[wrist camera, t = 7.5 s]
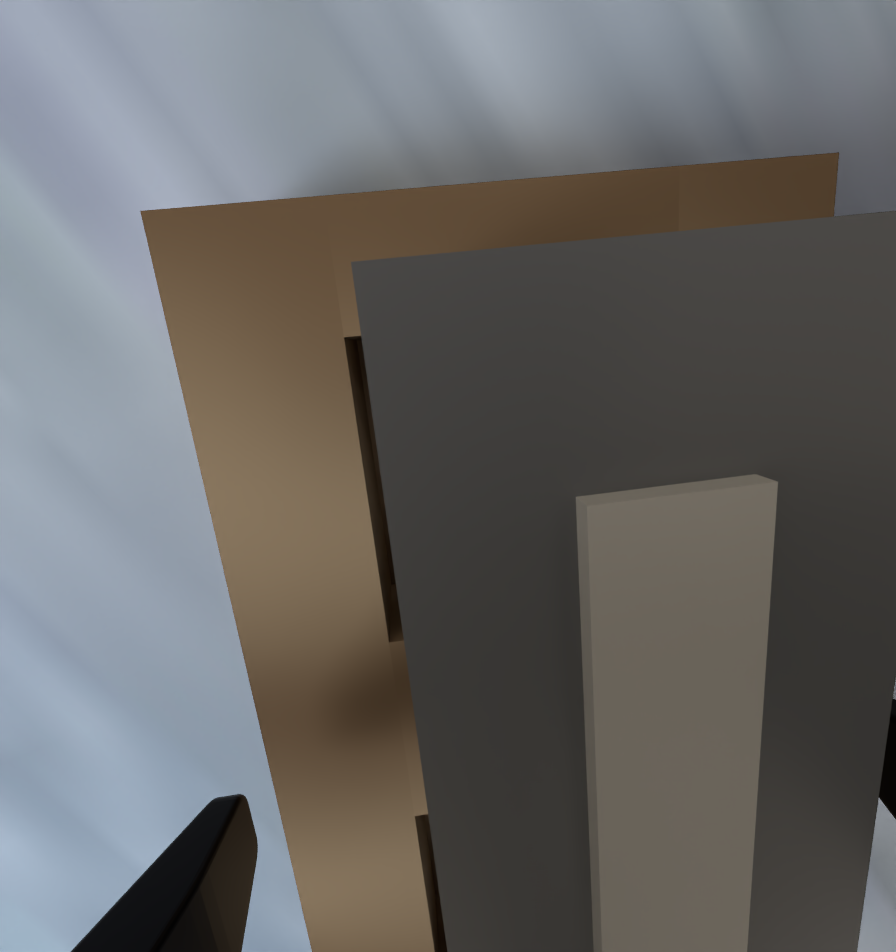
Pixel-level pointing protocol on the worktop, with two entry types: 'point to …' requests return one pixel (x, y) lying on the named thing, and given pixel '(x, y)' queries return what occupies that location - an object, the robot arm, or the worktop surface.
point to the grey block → (645, 577)
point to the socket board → (363, 481)
